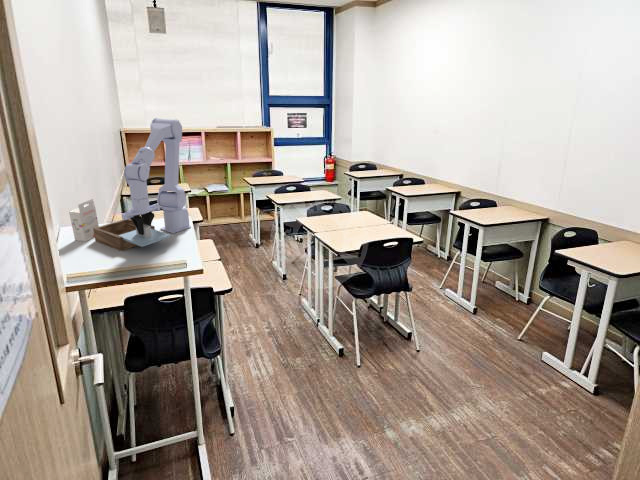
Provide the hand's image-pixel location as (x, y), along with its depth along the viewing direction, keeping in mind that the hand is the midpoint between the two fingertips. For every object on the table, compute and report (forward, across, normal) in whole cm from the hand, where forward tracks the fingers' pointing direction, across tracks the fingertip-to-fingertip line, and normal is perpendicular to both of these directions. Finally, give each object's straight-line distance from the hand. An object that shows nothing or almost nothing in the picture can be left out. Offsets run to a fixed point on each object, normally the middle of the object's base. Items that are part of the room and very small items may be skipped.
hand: (144, 233), depth 159 cm
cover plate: (+2, 0, 0) cm, 2 cm away
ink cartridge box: (+6, +7, -26) cm, 28 cm away
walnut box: (+6, 0, -12) cm, 13 cm away
